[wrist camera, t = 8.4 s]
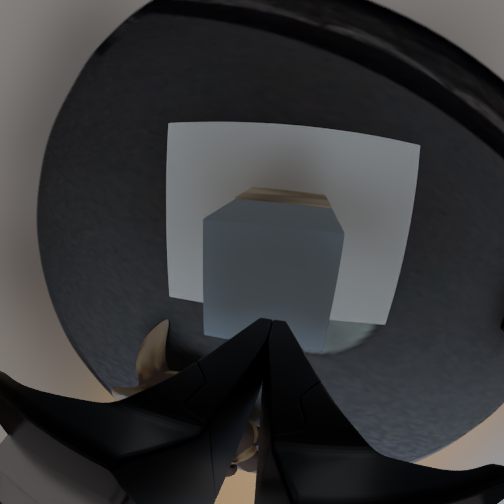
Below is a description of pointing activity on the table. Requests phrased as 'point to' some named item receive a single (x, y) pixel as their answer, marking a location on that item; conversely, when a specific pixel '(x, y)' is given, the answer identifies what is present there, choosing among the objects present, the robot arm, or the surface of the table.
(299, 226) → the blue block
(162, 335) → the toy
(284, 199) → the maple block
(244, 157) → the board
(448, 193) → the table surface
